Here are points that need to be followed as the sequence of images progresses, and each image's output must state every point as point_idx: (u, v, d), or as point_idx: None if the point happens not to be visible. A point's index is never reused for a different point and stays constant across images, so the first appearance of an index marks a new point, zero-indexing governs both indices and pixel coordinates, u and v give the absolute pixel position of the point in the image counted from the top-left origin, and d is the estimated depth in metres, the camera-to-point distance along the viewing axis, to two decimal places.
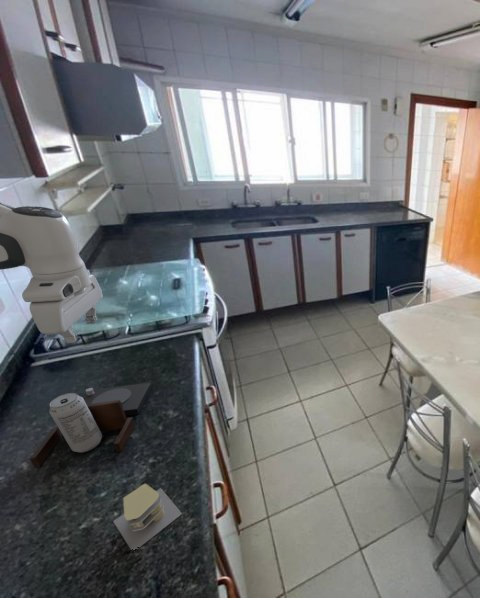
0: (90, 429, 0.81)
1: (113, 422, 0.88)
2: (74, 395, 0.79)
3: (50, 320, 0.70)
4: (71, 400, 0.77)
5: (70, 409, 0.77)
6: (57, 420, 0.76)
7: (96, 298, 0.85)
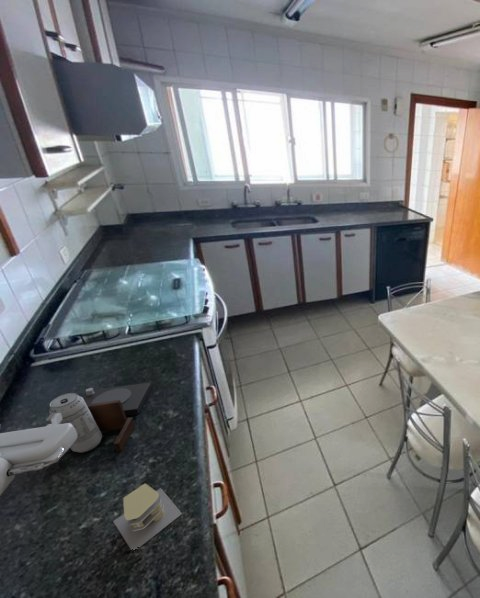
0: (90, 429, 0.81)
1: (113, 422, 0.88)
2: (74, 395, 0.79)
3: None
4: (71, 400, 0.77)
5: (70, 409, 0.77)
6: None
7: None
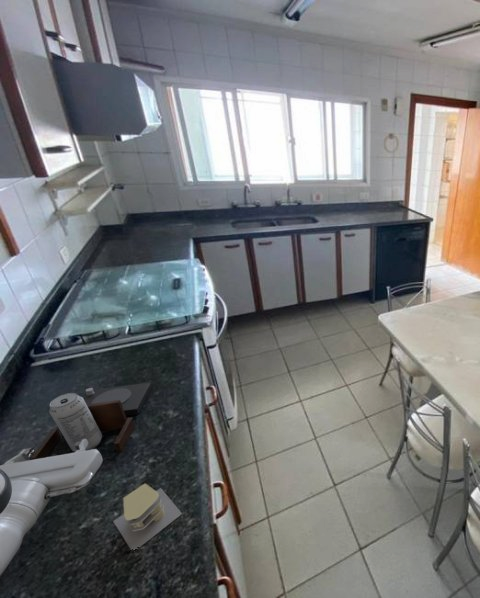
0: (90, 429, 0.81)
1: (113, 422, 0.88)
2: (74, 395, 0.79)
3: None
4: (71, 400, 0.77)
5: (70, 409, 0.77)
6: (57, 420, 0.76)
7: None
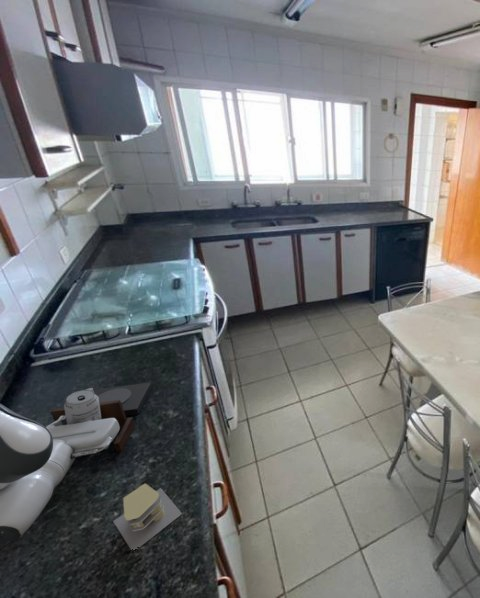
0: None
1: None
2: (91, 393, 0.80)
3: None
4: (88, 398, 0.78)
5: (86, 408, 0.78)
6: (70, 416, 0.77)
7: None
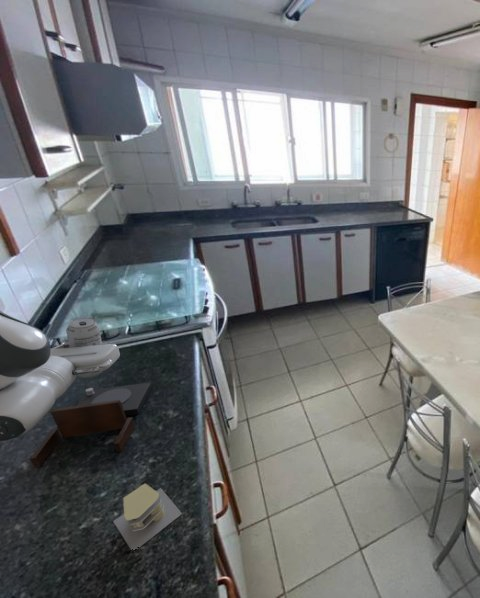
0: None
1: (113, 422, 0.88)
2: (92, 320, 0.83)
3: None
4: (89, 324, 0.81)
5: (88, 332, 0.80)
6: (72, 340, 0.80)
7: None
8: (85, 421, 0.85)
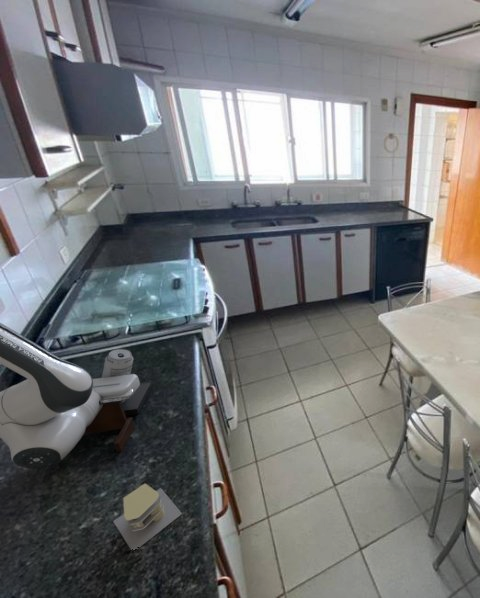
0: None
1: (113, 422, 0.88)
2: (128, 352, 0.92)
3: None
4: (126, 357, 0.91)
5: (124, 364, 0.90)
6: (109, 369, 0.89)
7: None
8: None
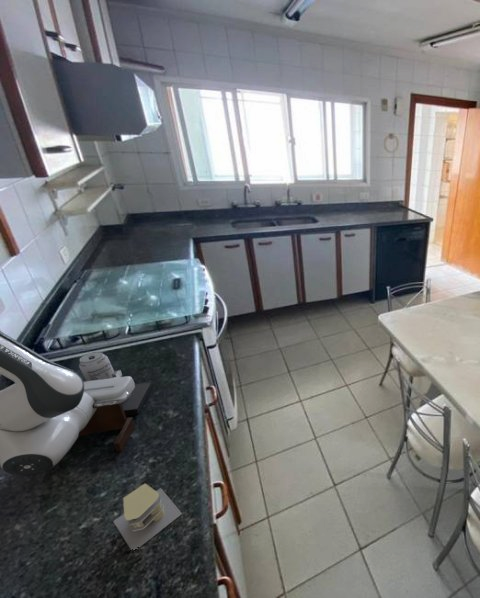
0: None
1: (113, 422, 0.88)
2: (100, 353, 0.91)
3: None
4: (97, 357, 0.89)
5: (98, 364, 0.88)
6: (86, 374, 0.88)
7: None
8: None
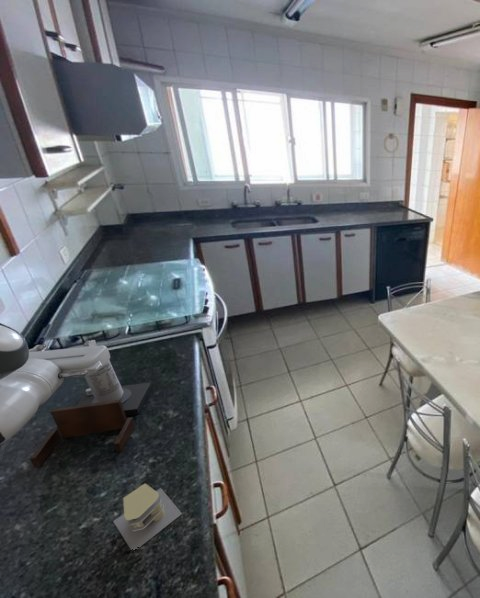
0: (114, 384, 0.93)
1: (113, 422, 0.88)
2: None
3: None
4: None
5: None
6: None
7: None
8: (85, 421, 0.85)
